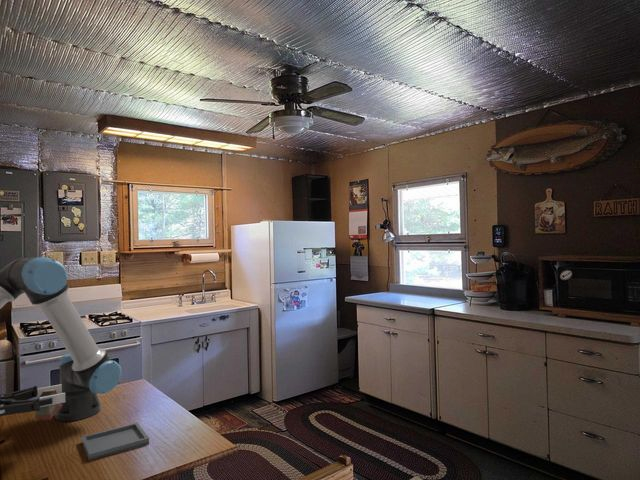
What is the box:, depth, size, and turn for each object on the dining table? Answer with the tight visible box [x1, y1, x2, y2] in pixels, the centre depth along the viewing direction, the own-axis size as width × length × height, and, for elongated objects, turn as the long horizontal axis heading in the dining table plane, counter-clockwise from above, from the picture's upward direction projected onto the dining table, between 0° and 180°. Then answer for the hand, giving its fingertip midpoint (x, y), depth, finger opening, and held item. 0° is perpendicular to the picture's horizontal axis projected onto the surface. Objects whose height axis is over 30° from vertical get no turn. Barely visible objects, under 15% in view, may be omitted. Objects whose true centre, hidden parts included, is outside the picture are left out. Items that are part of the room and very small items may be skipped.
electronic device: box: [34, 389, 62, 422], centre depth 133 cm, size 4×10×8 cm, turn 13°
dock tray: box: [81, 422, 150, 462], centre depth 138 cm, size 15×17×2 cm
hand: (63, 392), depth 135 cm, fingers closed on electronic device, 9 cm apart
